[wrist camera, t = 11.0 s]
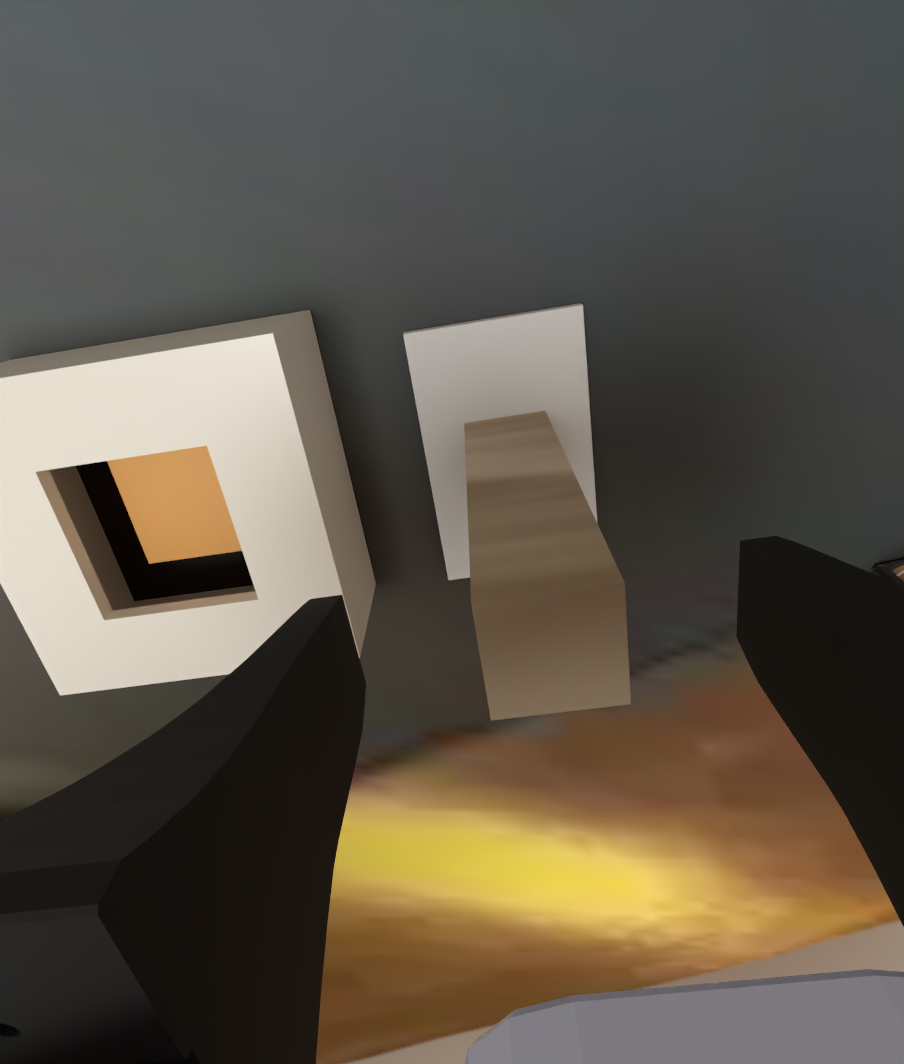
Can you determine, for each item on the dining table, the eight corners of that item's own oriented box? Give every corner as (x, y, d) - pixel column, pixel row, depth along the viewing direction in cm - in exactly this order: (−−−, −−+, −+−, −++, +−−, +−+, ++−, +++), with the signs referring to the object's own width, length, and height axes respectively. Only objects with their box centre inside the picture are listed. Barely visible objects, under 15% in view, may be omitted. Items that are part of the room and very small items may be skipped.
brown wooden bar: (552, 486, 20) (630, 703, 11) (475, 497, 20) (491, 720, 11) (545, 410, 19) (624, 583, 10) (464, 422, 19) (471, 603, 10)
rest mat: (597, 554, 22) (599, 560, 21) (448, 574, 22) (448, 580, 22) (580, 303, 18) (582, 304, 18) (404, 331, 18) (403, 334, 18)
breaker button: (272, 523, 21) (257, 548, 19) (172, 537, 21) (148, 563, 20) (241, 421, 20) (222, 440, 18) (134, 438, 20) (105, 458, 18)
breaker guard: (375, 584, 22) (359, 657, 18) (124, 617, 23) (59, 695, 19) (309, 309, 18) (273, 333, 15) (8, 360, 19) (-100, 394, 15)
